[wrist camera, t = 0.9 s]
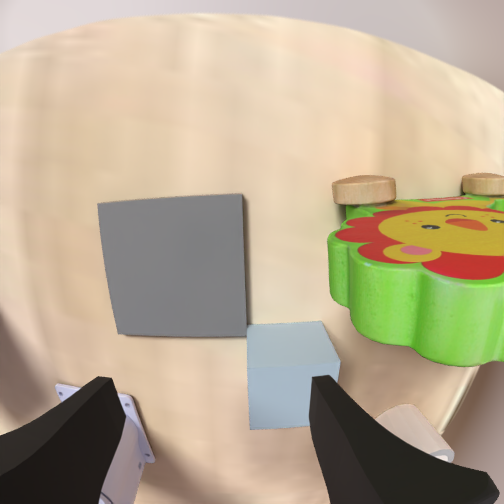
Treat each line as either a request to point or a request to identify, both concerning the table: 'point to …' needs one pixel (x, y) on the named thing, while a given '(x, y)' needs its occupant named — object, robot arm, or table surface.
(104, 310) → the table surface
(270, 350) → the cube
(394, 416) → the shot glass
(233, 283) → the coaster
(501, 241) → the toy lion
